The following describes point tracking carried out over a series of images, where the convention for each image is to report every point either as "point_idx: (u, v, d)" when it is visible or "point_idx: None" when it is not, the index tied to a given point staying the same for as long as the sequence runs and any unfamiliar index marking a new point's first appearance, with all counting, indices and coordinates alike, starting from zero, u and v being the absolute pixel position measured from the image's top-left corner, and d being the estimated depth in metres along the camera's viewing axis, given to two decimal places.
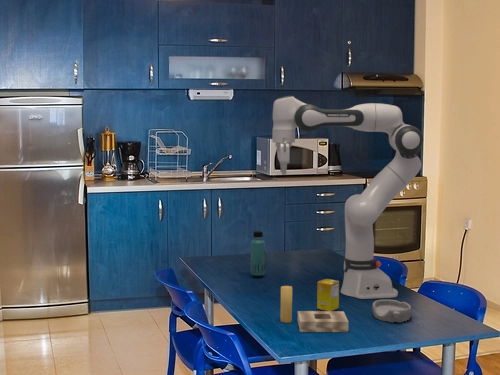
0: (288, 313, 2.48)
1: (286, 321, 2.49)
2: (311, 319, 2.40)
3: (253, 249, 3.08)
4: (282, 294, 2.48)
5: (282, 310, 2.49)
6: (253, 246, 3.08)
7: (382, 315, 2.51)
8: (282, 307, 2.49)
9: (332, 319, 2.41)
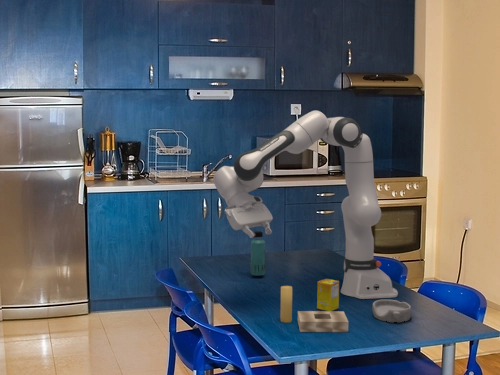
0: (288, 313, 2.48)
1: (286, 321, 2.49)
2: (311, 319, 2.40)
3: (253, 249, 3.08)
4: (282, 294, 2.48)
5: (282, 310, 2.49)
6: (253, 246, 3.08)
7: (382, 315, 2.51)
8: (282, 307, 2.49)
9: (332, 319, 2.41)
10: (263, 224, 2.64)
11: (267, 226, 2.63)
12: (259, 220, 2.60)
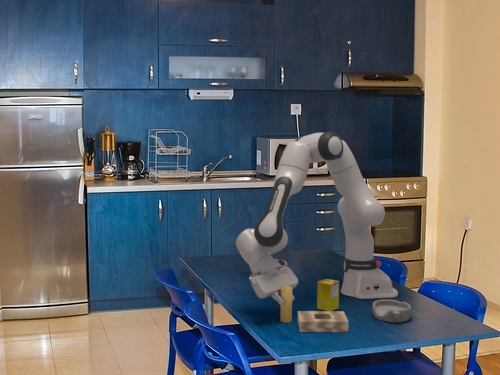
0: (288, 313, 2.48)
1: (286, 321, 2.49)
2: (311, 319, 2.40)
3: None
4: (282, 294, 2.48)
5: (282, 310, 2.49)
6: None
7: (382, 315, 2.51)
8: (282, 307, 2.49)
9: (332, 319, 2.41)
10: None
11: None
12: None
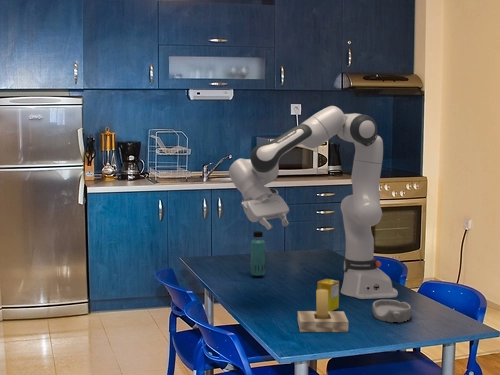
0: (324, 317, 2.42)
1: None
2: (311, 319, 2.40)
3: (253, 249, 3.08)
4: (318, 298, 2.42)
5: (318, 314, 2.43)
6: (253, 246, 3.08)
7: (382, 315, 2.51)
8: (318, 311, 2.43)
9: (332, 319, 2.41)
10: (280, 216, 2.63)
11: (284, 218, 2.62)
12: (276, 212, 2.59)
